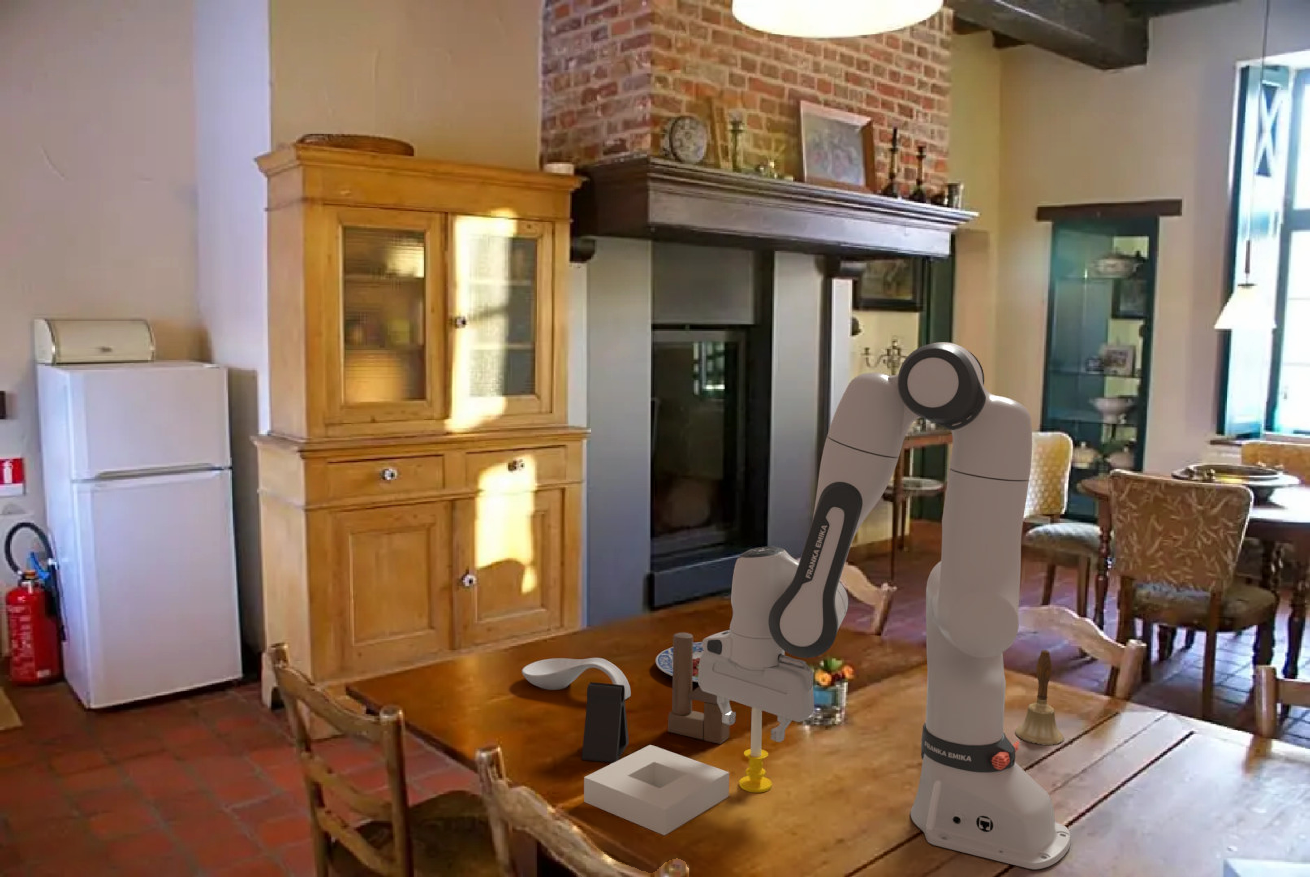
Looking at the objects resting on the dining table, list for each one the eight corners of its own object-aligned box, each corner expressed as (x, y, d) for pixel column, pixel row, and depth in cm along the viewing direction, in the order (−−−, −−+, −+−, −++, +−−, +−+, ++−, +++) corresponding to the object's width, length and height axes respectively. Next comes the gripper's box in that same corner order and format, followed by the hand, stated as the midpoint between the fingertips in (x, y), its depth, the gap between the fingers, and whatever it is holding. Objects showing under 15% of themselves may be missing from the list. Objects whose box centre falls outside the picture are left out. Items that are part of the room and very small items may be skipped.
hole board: (728, 796, 162) (729, 772, 161) (664, 835, 150) (664, 809, 149) (650, 767, 172) (650, 744, 171) (584, 802, 160) (584, 777, 159)
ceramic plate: (698, 644, 238) (698, 631, 237) (798, 667, 223) (798, 653, 222) (631, 674, 217) (631, 661, 217) (736, 702, 202) (736, 687, 202)
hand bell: (1071, 736, 187) (1076, 650, 185) (1052, 749, 181) (1058, 661, 179) (1026, 723, 192) (1031, 640, 190) (1007, 736, 186) (1011, 650, 184)
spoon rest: (510, 688, 208) (510, 654, 207) (544, 671, 219) (544, 638, 218) (610, 711, 197) (610, 675, 196) (641, 692, 207) (641, 657, 206)
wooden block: (721, 745, 181) (722, 646, 179) (667, 732, 186) (668, 636, 184) (729, 738, 184) (731, 640, 182) (677, 725, 190) (678, 630, 187)
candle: (735, 789, 164) (737, 695, 162) (743, 776, 169) (745, 684, 167) (767, 795, 162) (769, 700, 161) (775, 781, 167) (777, 688, 165)
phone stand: (615, 764, 173) (615, 695, 172) (581, 760, 174) (581, 692, 173) (629, 742, 182) (629, 677, 180) (596, 739, 183) (596, 674, 182)
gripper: (824, 659, 159) (819, 744, 161) (717, 629, 172) (713, 709, 174) (802, 669, 154) (797, 757, 156) (694, 637, 167) (690, 719, 169)
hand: (752, 731), depth 165 cm, fingers open, 8 cm apart
